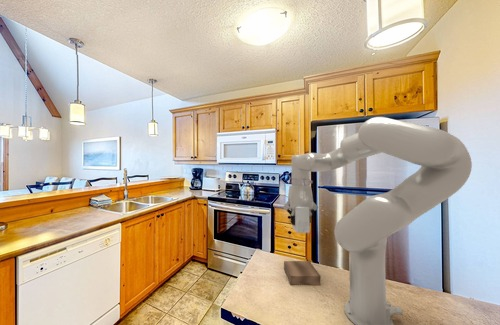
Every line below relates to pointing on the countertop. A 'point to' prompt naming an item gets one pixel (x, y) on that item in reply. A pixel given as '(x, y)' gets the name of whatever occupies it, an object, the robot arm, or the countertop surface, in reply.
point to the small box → (302, 220)
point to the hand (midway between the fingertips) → (300, 224)
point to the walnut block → (301, 273)
